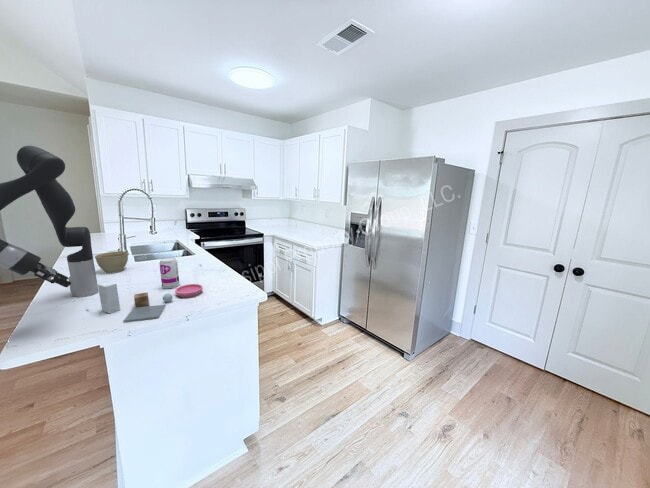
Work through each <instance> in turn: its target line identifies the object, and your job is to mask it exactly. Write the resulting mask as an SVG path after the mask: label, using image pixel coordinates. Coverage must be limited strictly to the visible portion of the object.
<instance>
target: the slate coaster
mask: <svg viewBox="0 0 650 488" xmlns="http://www.w3.org/2000/svg"><path fill="white" fill-rule="evenodd" d="M165 308H166V304H160V305H159V304H157V305H149V306H147V307H137V308H135V307H133V308H132V309H131V311H130V312H129V313H128V315H127V316H126V317H124V320H123V323H130V322H131V323H132V322H140V321H147V320H149V321H150V320H156V319H159V318H160V317H161V315H162V313H163V312H164V310H165Z"/></svg>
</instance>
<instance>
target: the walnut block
mask: <svg viewBox="0 0 650 488" xmlns="http://www.w3.org/2000/svg"><path fill="white" fill-rule="evenodd" d="M133 295H134V297H133V301H134V308H137V307H147V306H150V300H149V299H150V298H149V292H148V291H147V292H141V293H140V292H139V293H134V294H133Z"/></svg>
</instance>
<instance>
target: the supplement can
mask: <svg viewBox="0 0 650 488" xmlns="http://www.w3.org/2000/svg"><path fill="white" fill-rule="evenodd" d="M159 271H160V282H161V287H162V288H164V289H174V288H175V289H176V288H178V287H179V286H180V276H179V267H178V261H177V259H176V257H166V258H162V259H160V261H159Z"/></svg>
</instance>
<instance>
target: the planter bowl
mask: <svg viewBox="0 0 650 488" xmlns="http://www.w3.org/2000/svg"><path fill="white" fill-rule="evenodd" d="M94 258H95V262H96V264H97V266H98V267H99V268H100V269H101V270H102V271H104V273H105V272H106V274H113V273H114V272H115V273H119V272H122V271H124V269H125V267H126V266H127V263H128V259H129V252H127V251H110V252H105V253H100V254H97V255H94Z"/></svg>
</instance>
